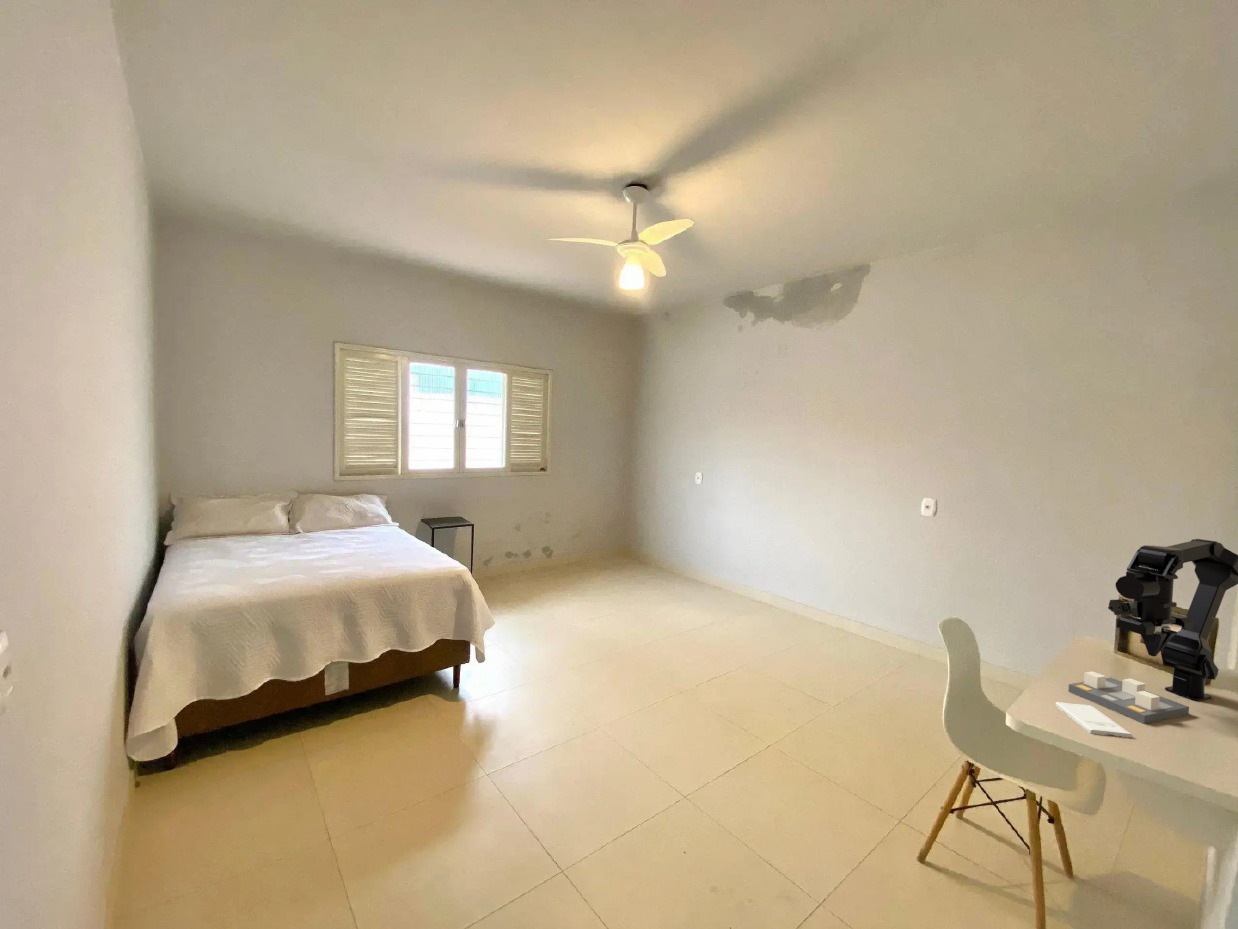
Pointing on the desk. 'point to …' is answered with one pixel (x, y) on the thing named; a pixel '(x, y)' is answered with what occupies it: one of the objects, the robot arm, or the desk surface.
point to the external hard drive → (1092, 719)
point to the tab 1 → (1094, 679)
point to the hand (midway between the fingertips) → (1152, 655)
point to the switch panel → (1128, 702)
